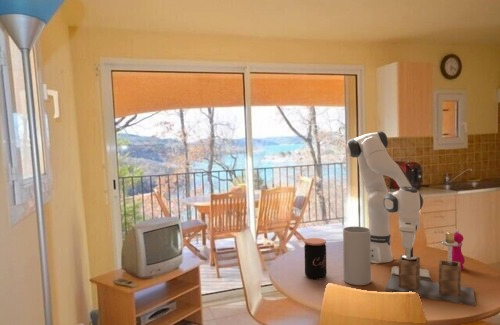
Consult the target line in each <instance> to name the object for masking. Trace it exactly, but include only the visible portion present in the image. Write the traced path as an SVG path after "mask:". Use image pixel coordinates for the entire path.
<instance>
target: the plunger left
mask: <svg viewBox="0 0 500 325" xmlns="http://www.w3.org/2000/svg"><path fill="white" fill-rule="evenodd" d="M401 255H402V258H403V259H406V260H407V261H411V260H416V259H417V257H418V256H416V255H415V254H414V246H413V247H412V249H411V256H410V257H406V251H405V254H401Z"/></svg>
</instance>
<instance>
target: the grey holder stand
mask: <svg viewBox="0 0 500 325" xmlns="http://www.w3.org/2000/svg"><path fill="white" fill-rule="evenodd" d="M402 255H403V254H401V255H400V256H399V258H398V267H399V277H394V276H390V278H389V279H388V282H387V284H386V286H385V292H387V291H392V292H391V293H393V292H409V291H412V292H416V293H418V294H419V296H420V297H419V298H424V299H431V300H438V301H443V302H449V303H454V302H455V304H460V303H462V305H467V306H473V307H474V306H476V299H475V298H476V297H475V292H474V288H473V287H470V286H463V285H461V283H462V282H461V280H462V279H461V276H462V275H461V273H462V270H461V266H460V262H455V261H452V266H448V260H446V259H445V260H444V259H439V261H438V262H439V263H438V282H436V281H435V282H434V281H422V280H420V269H421V265H420V264H421V262H420V257H418V256H416V257H417V259H416V260H411V261H407V260H406V259H403V258H402Z"/></svg>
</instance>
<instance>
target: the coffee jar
mask: <svg viewBox="0 0 500 325" xmlns="http://www.w3.org/2000/svg"><path fill="white" fill-rule="evenodd" d="M303 241H304V250H303V251H304V274H305V276H306V278H308V279H311V280H323V279H325V278H326V276H327V272H328V270H327V245H326V243H327V241H326V239H324V238H320V237H311V238H310V237H309V238H306V239H304V240H303Z"/></svg>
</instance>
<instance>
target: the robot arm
mask: <svg viewBox="0 0 500 325" xmlns="http://www.w3.org/2000/svg"><path fill="white" fill-rule="evenodd" d="M388 138H389V137H388V136H387V135H386V133H385V132H384V131H375V132H368V133H366V134H362V135H360V136H357V137H355V138H350V139H348V140H347V142H346V146H345V147H346V152H347V153H348V155H349V157H351V158H357V162H358V166H359V170H360V171H359V172H360V174H361V178H362V181H363V184H364V187H365V190H366V192H367V194H368V195H367V196H368V198H367V215H368V229H370V242H371V263H372V264H382V263H391V262H392V261H394V257H393V255H392V254H393V253H392V249H391V248H392V247H391V244H392V237H391V233H390V232H391V231H390V230H391V226H390V225H391V223H390V222H391V221H390V213H391V214H398V227H399V231H400V234H401V237H400V238H401V246H402V249H404V250H405V251H406V257H410V256H411V249H412V247H413V248H414V243H415V241H416V233H417V232H418V230H419V229H421V215H420V210H421V209H422V208H423V206H424V199H423V196H422V195H421V193H420V191H419V190H418V189H417V188H416V187H415V185H413V183H412V182H411V181H410V179H409V177H408V175H407V174H406V172H405V171H404V169H403V168H402V167H401V166H400V164H398V163H397V162H396V161H394V159H393V158H392V157H391V156H390V155H389V153H388V151H387V148H388V146H389V140H388ZM384 176H387V177H389V178H391V179H392V180H394V182H396V184H397V186H398V188H399V189H398V190H396V191H393V192H390V193H389V190H388V187H387V184H386V181H385V180H386V179H385V178H384Z"/></svg>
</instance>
